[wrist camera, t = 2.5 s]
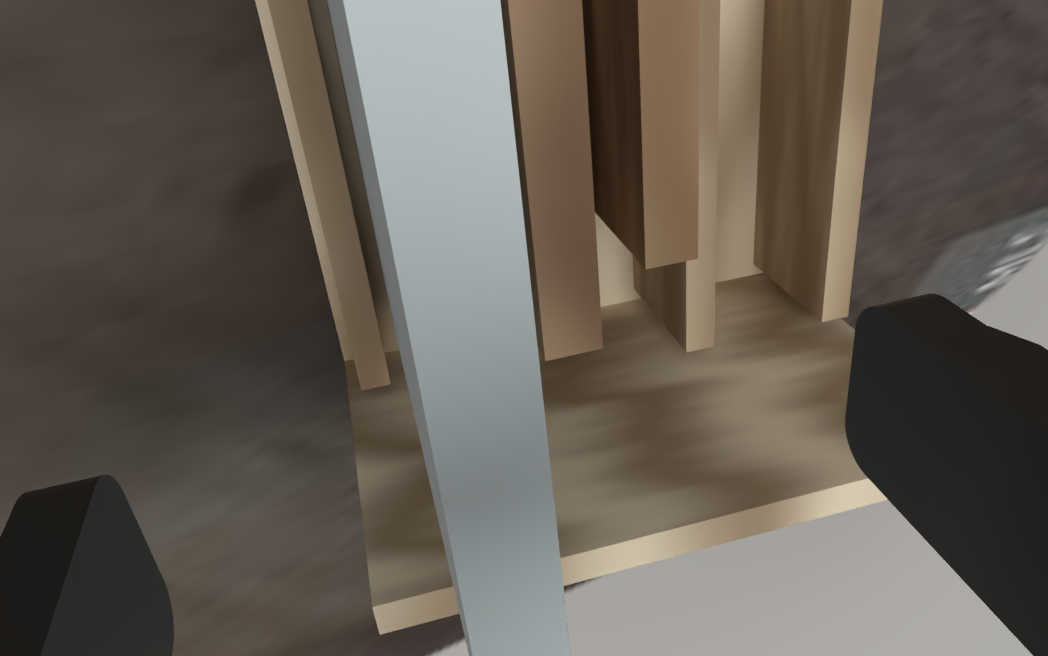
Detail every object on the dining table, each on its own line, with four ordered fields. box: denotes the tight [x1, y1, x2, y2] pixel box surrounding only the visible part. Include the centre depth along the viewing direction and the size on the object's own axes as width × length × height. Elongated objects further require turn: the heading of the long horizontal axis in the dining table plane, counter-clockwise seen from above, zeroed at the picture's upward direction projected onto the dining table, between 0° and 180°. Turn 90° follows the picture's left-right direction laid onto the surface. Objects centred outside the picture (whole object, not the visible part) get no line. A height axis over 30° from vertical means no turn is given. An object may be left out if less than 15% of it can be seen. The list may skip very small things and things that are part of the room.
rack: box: [255, 0, 888, 634], centre depth 23 cm, size 18×22×14 cm
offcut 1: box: [500, 0, 603, 361], centre depth 23 cm, size 2×12×9 cm, turn 6°
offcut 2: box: [582, 0, 700, 269], centre depth 24 cm, size 2×10×7 cm, turn 6°
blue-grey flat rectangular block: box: [326, 0, 571, 656], centre depth 18 cm, size 2×16×18 cm, turn 6°
